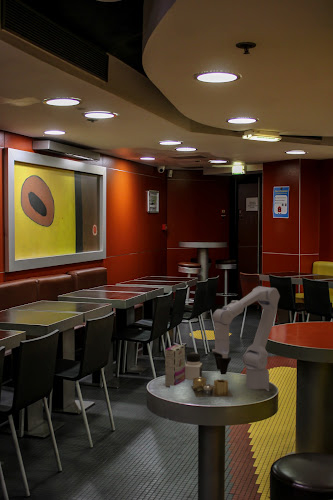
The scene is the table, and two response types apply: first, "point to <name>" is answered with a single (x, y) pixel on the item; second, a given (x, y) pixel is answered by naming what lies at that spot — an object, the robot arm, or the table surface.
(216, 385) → the gear
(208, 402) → the table surface
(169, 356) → the candy bar box
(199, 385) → the plate
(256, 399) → the table surface
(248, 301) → the robot arm
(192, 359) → the medicine bottle
